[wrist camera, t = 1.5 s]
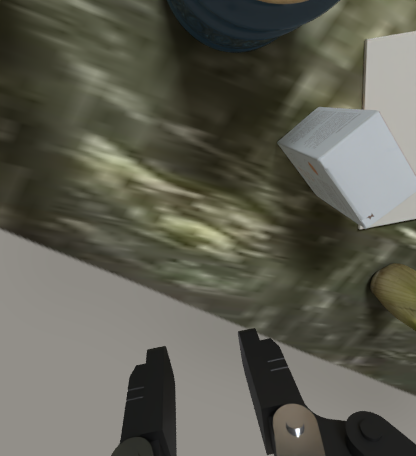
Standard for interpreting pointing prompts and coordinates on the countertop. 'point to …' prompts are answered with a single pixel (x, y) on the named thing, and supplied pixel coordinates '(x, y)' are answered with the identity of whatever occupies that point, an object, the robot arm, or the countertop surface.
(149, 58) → the countertop surface
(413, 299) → the fennel bulb
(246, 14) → the canister
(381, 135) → the small box
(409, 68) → the mat
